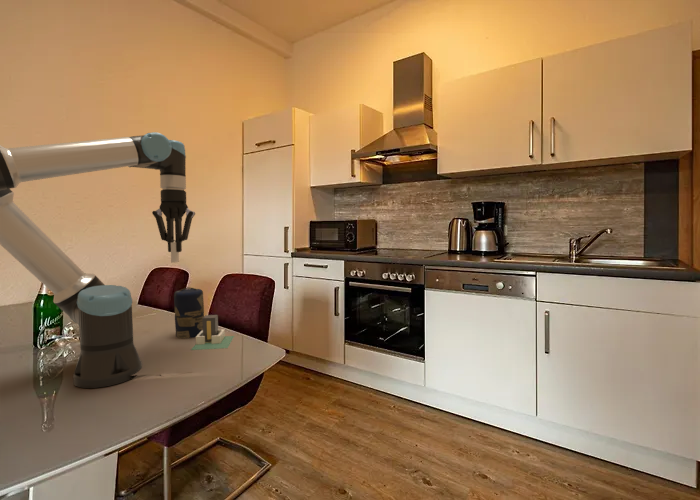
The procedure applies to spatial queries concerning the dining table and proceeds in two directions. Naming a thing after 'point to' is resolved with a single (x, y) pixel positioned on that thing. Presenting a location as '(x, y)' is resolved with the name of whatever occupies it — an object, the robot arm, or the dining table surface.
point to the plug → (210, 326)
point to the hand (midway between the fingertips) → (175, 262)
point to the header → (215, 338)
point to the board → (209, 345)
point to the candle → (188, 312)
